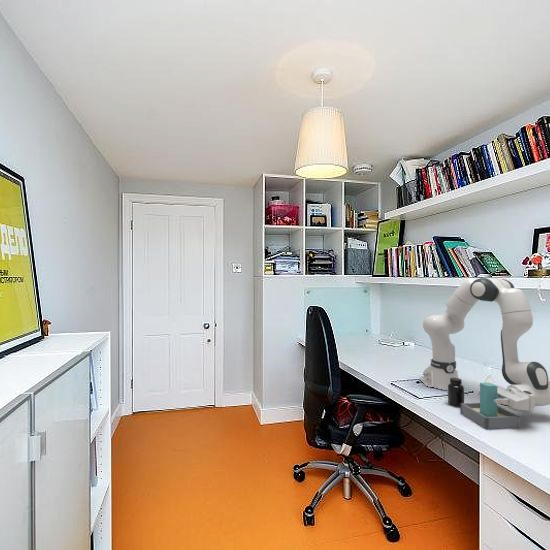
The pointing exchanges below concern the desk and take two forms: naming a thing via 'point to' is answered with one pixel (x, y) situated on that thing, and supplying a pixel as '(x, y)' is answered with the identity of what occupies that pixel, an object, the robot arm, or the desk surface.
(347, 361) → the desk surface
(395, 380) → the desk surface
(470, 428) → the desk surface
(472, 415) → the open box
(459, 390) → the supplement bottle
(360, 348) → the desk surface
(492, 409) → the peg
